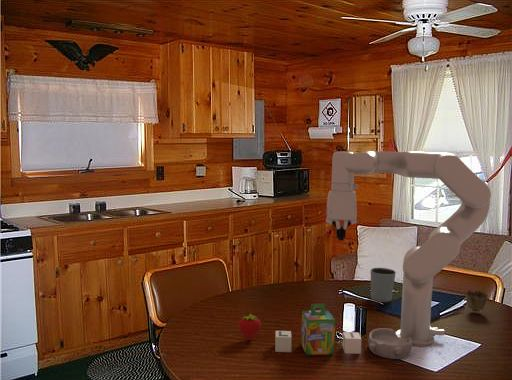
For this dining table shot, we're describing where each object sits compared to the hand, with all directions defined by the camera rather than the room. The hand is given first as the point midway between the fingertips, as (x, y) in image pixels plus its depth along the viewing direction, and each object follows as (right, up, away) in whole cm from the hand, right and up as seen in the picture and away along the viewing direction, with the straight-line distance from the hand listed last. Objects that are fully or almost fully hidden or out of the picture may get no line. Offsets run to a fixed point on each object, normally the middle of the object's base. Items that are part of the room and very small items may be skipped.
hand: (340, 239), depth 181 cm
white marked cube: (-21, -34, -13) cm, 42 cm away
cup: (+56, -31, +21) cm, 67 cm away
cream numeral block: (+1, -34, -14) cm, 37 cm away
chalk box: (-10, -34, -14) cm, 38 cm away
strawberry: (-32, -33, -7) cm, 46 cm away
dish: (+13, -35, -14) cm, 40 cm away
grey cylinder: (+23, -28, +36) cm, 52 cm away
